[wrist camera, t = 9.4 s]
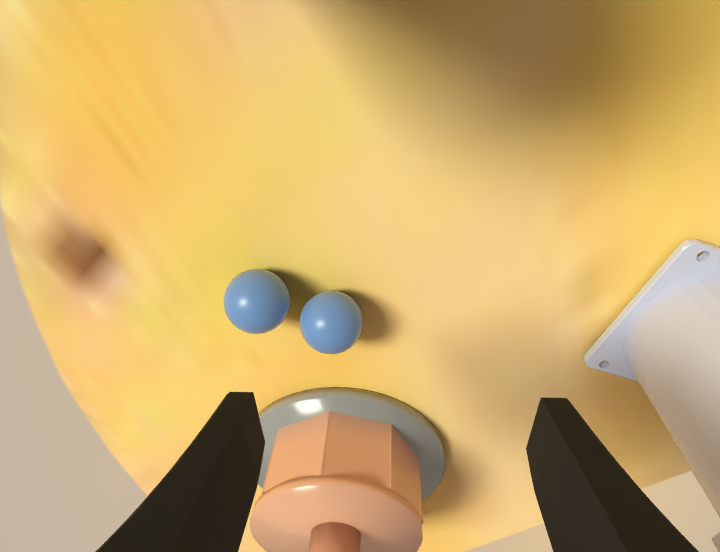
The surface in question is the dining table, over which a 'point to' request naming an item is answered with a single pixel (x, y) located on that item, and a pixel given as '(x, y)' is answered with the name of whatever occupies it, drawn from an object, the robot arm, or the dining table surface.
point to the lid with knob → (340, 489)
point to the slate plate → (365, 406)
